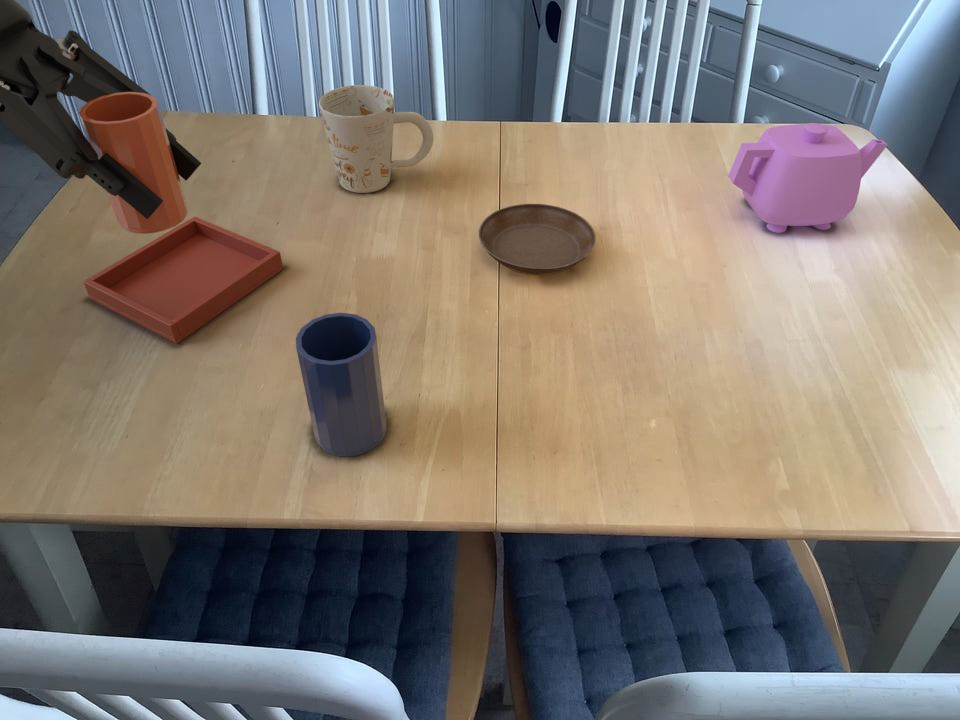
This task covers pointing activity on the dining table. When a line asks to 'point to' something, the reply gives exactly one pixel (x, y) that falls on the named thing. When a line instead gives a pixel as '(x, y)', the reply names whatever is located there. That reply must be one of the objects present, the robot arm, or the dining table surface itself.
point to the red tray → (184, 278)
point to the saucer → (537, 238)
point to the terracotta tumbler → (137, 155)
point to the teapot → (802, 174)
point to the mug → (366, 135)
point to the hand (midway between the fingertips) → (175, 190)
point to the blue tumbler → (342, 383)
